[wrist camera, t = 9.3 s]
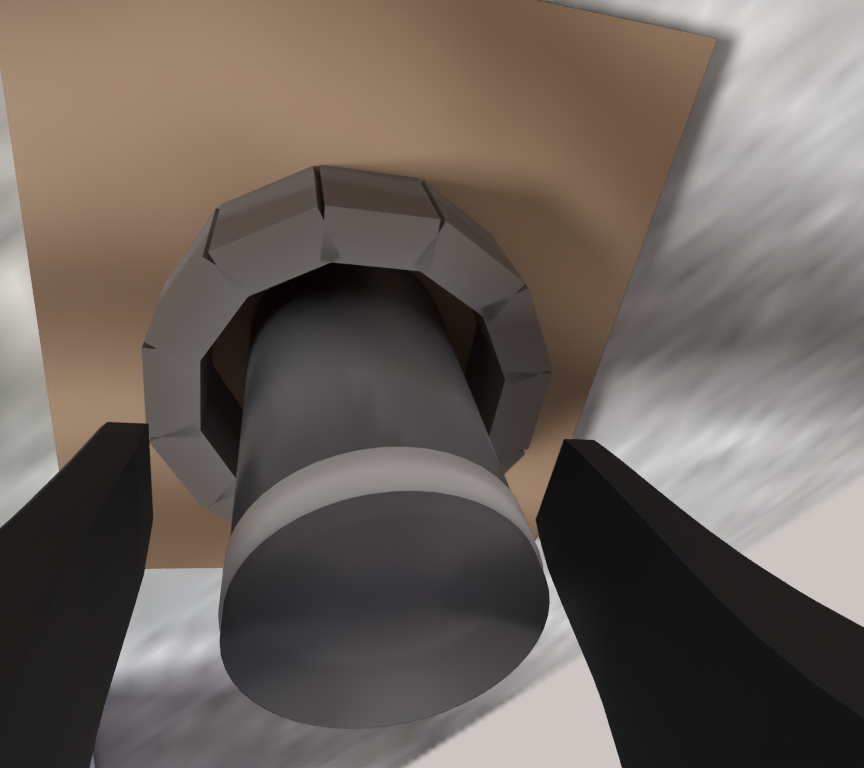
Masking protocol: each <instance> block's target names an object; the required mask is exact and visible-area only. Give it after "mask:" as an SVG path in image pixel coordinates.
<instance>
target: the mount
mask: <svg viewBox="0 0 864 768" xmlns="http://www.w3.org/2000/svg"><path fill="white" fill-rule="evenodd" d="M716 40H717V39H716V38H712V37H707V36H703V35H698V34H694V33H689V32H685V31H680V30H675V29H670V28H666V27H661V26H656V25H652V24H647V23H642V22H637V21H633V20H628V19H623V18H618V17H614V16H609V15H604V14H600V13H595V12H590V11H585V10H581V9H576V8H571V7H567V6H562V5H557V4H552V3H548V2H543V1H538V0H0V68H1V75H2V82H3V89H4V96H5V102H6V109H7V116H8V123H9V130H10V137H11V144H12V151H13V157H14V164H15V171H16V178H17V185H18V192H19V199H20V205H21V212H22V219H23V226H24V233H25V240H26V247H27V253H28V260H29V267H30V274H31V281H32V288H33V295H34V301H35V308H36V315H37V322H38V329H39V336H40V343H41V350H42V356H43V363H44V370H45V377H46V384H47V391H48V398H49V404H50V411H51V418H52V425H53V432H54V439H55V446H56V452H57V459H58V466H59V471H60V470H61V469H62V468H63V467H64V466H65V465H66V464H67V463H68V462H69V461H70V460H71V458H72V457H73V456H74V455H75V454H76V453H77V452H78V451H79V450H80V449H81V448H82V447H83V446H84V444H85V443H86V442H87V441H88V440H89V439H90V438H91V437H92V436H93V435H94V433H95V432H96V431H97V430H98V429H99V428H100V427H101V426H102V425H104V424H105V423H106V422H124V423H149V442H150V461H151V481H152V500H153V524H152V530H151V536H150V542H149V548H148V554H147V559H146V565H145V569H160V568H223V566H224V558H225V552H226V549H227V545H228V542H229V539H230V534H231V524H232V514H233V504H234V495H235V485H236V475H237V465H238V455H239V446H240V436H241V426H242V416H243V406H244V396H245V387H246V377H247V367H248V357H249V347H250V337H251V329H252V322H253V318H254V315H255V311H256V309H257V307H258V305H259V303H260V301H261V299H262V298H263V296H264V294H265V293H266V291H267V290H268V289H269V288H270V287H272V286H275V285H277V284H280V283H282V282H285V281H287V280H289V279H292V278H294V277H297V276H299V275H302V274H304V273H306V272H309V271H311V270H314V269H316V268H319V267H321V266H323V265H326V264H328V263H331V262H334V263H344V264H354V265H364V266H374V267H384V268H394V269H404V270H408V271H409V272H411V273H412V274H413V275H414V276H416V277H417V278H418V279H419V280H420V282H421V283H422V284H423V285H424V286H425V287H426V289H427V290H428V292H429V293H430V294H431V296H432V298H433V300H434V302H435V304H436V306H437V309H438V311H439V314H440V316H441V319H442V321H443V324H444V326H445V329H446V331H447V334H448V336H449V339H450V341H451V344H452V346H453V349H454V351H455V354H456V356H457V359H458V361H459V364H460V366H461V369H462V371H463V373H464V376H465V378H466V381H467V383H468V386H469V388H470V391H471V393H472V396H473V398H474V401H475V403H476V406H477V408H478V411H479V413H480V416H481V418H482V421H483V423H484V426H485V428H486V431H487V433H488V436H489V438H490V441H491V443H492V446H493V448H494V450H495V453H496V455H497V458H498V460H499V463H500V465H501V468H502V470H503V473H504V475H505V478H506V480H507V483H508V485H509V488H510V490H511V492H512V494H513V495H514V496H515V498H516V499H517V501H518V503H519V505H520V507H521V509H522V511H523V513H524V516H525V518H526V521H527V523H528V526H529V528H530V530H531V533H532V535H533V538H534V540H536V537H537V534H538V529H537V525H536V521H535V520H536V517H537V514H538V511H539V508H540V505H541V503H542V500H543V497H544V494H545V491H546V488H547V486H548V483H549V480H550V477H551V474H552V471H553V469H554V466H555V463H556V460H557V457H558V454H559V451H560V449H561V446H562V443H563V440H564V439H572V437H573V435H574V432H575V429H576V426H577V424H578V421H579V418H580V415H581V413H582V410H583V407H584V404H585V402H586V399H587V396H588V393H589V391H590V388H591V385H592V382H593V379H594V377H595V374H596V371H597V368H598V366H599V363H600V360H601V357H602V355H603V352H604V349H605V346H606V344H607V341H608V338H609V335H610V333H611V330H612V327H613V324H614V322H615V319H616V316H617V313H618V310H619V308H620V305H621V302H622V299H623V297H624V294H625V291H626V288H627V286H628V283H629V280H630V277H631V275H632V272H633V269H634V266H635V264H636V261H637V258H638V255H639V252H640V250H641V247H642V244H643V241H644V239H645V236H646V233H647V230H648V228H649V225H650V222H651V219H652V217H653V214H654V211H655V208H656V206H657V203H658V200H659V197H660V194H661V192H662V189H663V186H664V183H665V181H666V178H667V175H668V172H669V170H670V167H671V164H672V161H673V159H674V156H675V153H676V150H677V148H678V145H679V142H680V139H681V137H682V134H683V131H684V128H685V125H686V123H687V120H688V117H689V114H690V112H691V109H692V106H693V103H694V101H695V98H696V95H697V92H698V90H699V87H700V84H701V81H702V79H703V76H704V73H705V70H706V67H707V65H708V62H709V59H710V56H711V54H712V51H713V48H714V45H715V43H716Z"/></svg>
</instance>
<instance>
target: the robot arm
mask: <svg viewBox="0 0 864 768" xmlns="http://www.w3.org/2000/svg"><path fill="white" fill-rule="evenodd" d="M535 521H536V525H537V529H538V533H539V537H540V541H541V545H542V549H543V553H544V556H545V560H546V563H547V567H548V570H549V573H550V575H551V578H552V580H553V583H554V585H555V588H556V590H557V593H558V595H559V597H560V600H561V602H562V605H563V607H564V610H565V612H566V614H567V617H568V619H569V621H570V624H571V626H572V629H573V631H574V633H575V636H576V638H577V641H578V643H579V645H580V648H581V650H582V652H583V655H584V657H585V660H586V662H587V664H588V666H589V669H590V671H591V674H592V676H593V678H594V681H595V684H596V687H597V689H598V692H599V695H600V698H601V700H602V703H603V706H604V709H605V713H606V716H607V719H608V723H609V726H610V729H611V733H612V736H613V739H614V742H615V745H616V749H617V752H618V755H619V759H620V763H621V766H622V768H864V627H862V626H860V625H858V624H856V623H855V622H853V621H851V620H849V619H847V618H845V617H844V616H842V615H840V614H838V613H836V612H835V611H833V610H831V609H829V608H828V607H826V606H824V605H822V604H820V603H818V602H816V601H815V600H813V599H812V598H810V597H808V596H807V595H805V594H803V593H801V592H800V591H798V590H796V589H795V588H793V587H791V586H790V585H788V584H787V583H785V582H784V581H782V580H781V579H779V578H777V577H776V576H774V575H773V574H771V573H769V572H768V571H766V570H765V569H763V568H762V567H760V566H758V565H757V564H755V563H754V562H752V561H751V560H749V559H748V558H747V557H745V556H744V555H742V554H741V553H739V552H738V551H737V550H735V549H734V548H732V547H731V546H730V545H728V544H727V543H726V542H724V541H723V540H721V539H720V538H719V537H717V536H716V535H715V534H713V533H712V532H710V531H709V530H708V529H706V528H705V527H704V526H702V525H701V524H700V523H699V522H697V521H696V520H695V519H693V518H692V517H691V516H689V515H688V514H687V513H686V512H684V511H683V510H682V509H680V508H679V507H678V506H677V505H675V504H674V503H673V502H672V501H670V500H669V499H668V498H667V497H665V496H664V495H663V494H662V493H661V492H659V491H658V490H657V489H656V488H654V487H653V486H652V485H651V484H649V483H648V482H647V481H646V480H645V479H643V478H642V477H641V476H640V475H638V474H637V473H636V472H635V471H634V470H632V469H631V468H630V467H629V466H627V465H626V464H625V463H624V462H622V461H621V460H620V459H619V458H617V457H616V456H615V455H614V454H612V453H611V452H610V451H608V450H607V449H606V448H604V447H603V446H602V445H600V444H599V443H597V442H596V441H594V440H580V439H564V440H563V443H562V446H561V449H560V451H559V454H558V457H557V460H556V463H555V466H554V469H553V471H552V474H551V477H550V480H549V483H548V486H547V488H546V491H545V494H544V497H543V500H542V503H541V505H540V508H539V511H538V514H537V517H536V520H535ZM152 524H153V500H152V481H151V461H150V442H149V423H124V422H106V423H105V424H104V425H102V426H101V427H100V428H99V429H98V430H97V431H96V432H95V433H94V435H93V436H92V437H91V438H90V439H89V440H88V441H87V442H86V443H85V444H84V446H83V447H82V448H81V449H80V450H79V451H78V452H77V453H76V454H75V455H74V456H73V457H72V458H71V460H70V461H69V462H68V463H67V464H66V465H65V466H64V467H63V468H62V469H61V470H60V471H59V472H58V473H57V474H56V475H55V476H54V477H53V478H52V479H51V480H50V481H49V482H48V483H47V484H46V485H45V486H44V487H43V488H42V489H41V490H40V491H39V492H38V493H37V494H36V495H35V496H34V497H33V498H32V499H31V500H30V501H29V502H28V503H27V504H26V505H25V506H24V507H23V508H22V509H21V510H19V511H18V512H17V513H16V514H15V515H14V516H13V517H12V518H11V519H10V520H9V521H7V522H6V523H5V524H4V525H3V526H2V527H1V528H0V768H95V764H94V757H93V749H94V744H95V740H96V735H97V731H98V728H99V724H100V720H101V716H102V712H103V708H104V705H105V701H106V698H107V695H108V692H109V688H110V685H111V682H112V678H113V675H114V672H115V669H116V665H117V662H118V659H119V655H120V652H121V649H122V646H123V642H124V639H125V636H126V633H127V629H128V626H129V623H130V619H131V616H132V613H133V609H134V606H135V603H136V599H137V596H138V593H139V589H140V586H141V582H142V579H143V576H144V570H145V565H146V559H147V554H148V548H149V542H150V536H151V530H152Z"/></svg>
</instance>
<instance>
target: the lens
mask: <svg viewBox="0 0 864 768" xmlns="http://www.w3.org/2000/svg"><path fill="white" fill-rule="evenodd" d="M549 603H550V601H549V588H548V585H547V581H546V578H545V575H544V572H543V563H542V560H541V556H540V553H539V550H538V548H537V545H536V543H535V540H534V538H533V535H532V533H531V530H530V528H529V526H528V523H527V521H526V518H525V516H524V513H523V511H522V509H521V507H520V505H519V503H518V501H517V499H516V498H515V496H514V495H513V494H512V492H511V490H510V488H509V485H508V483H507V480H506V478H505V475H504V473H503V470H502V468H501V465H500V463H499V460H498V458H497V455H496V453H495V450H494V448H493V446H492V443H491V441H490V438H489V436H488V433H487V431H486V428H485V426H484V423H483V421H482V418H481V416H480V413H479V411H478V408H477V406H476V403H475V401H474V398H473V396H472V393H471V391H470V388H469V386H468V383H467V381H466V378H465V376H464V373H463V371H462V369H461V366H460V364H459V361H458V359H457V356H456V354H455V351H454V349H453V346H452V344H451V341H450V339H449V336H448V334H447V331H446V329H445V326H444V324H443V321H442V319H441V316H440V314H439V311H438V309H437V306H436V304H435V302H434V300H433V298H432V296H431V294H430V293H429V292H428V290H427V289H426V287H425V286H424V285H423V284H422V283H421V282H420V280H419V279H418V278H417V277H416V276H414V275H413V274H412V273H411V272H409V271H408V270H404V269H394V268H384V267H374V266H364V265H354V264H344V263H334V262H331V263H328V264H326V265H323V266H321V267H319V268H316V269H314V270H311V271H309V272H306V273H304V274H302V275H299V276H297V277H294V278H292V279H289V280H287V281H285V282H282V283H280V284H277V285H275V286H272V287H270V288H269V289H268V290H267V291H266V293H265V294H264V296H263V298H262V299H261V301H260V303H259V305H258V307H257V309H256V311H255V315H254V318H253V322H252V329H251V337H250V347H249V357H248V367H247V377H246V387H245V396H244V406H243V416H242V426H241V436H240V446H239V455H238V465H237V475H236V485H235V495H234V504H233V514H232V524H231V534H230V539H229V542H228V545H227V549H226V552H225V558H224V566H223V576H222V585H221V594H220V603H219V613H218V617H219V629H220V651H221V657H222V660H223V664H224V667H225V669H226V671H227V673H228V675H229V676H230V678H231V680H232V681H233V683H234V684H235V685H236V686H237V687H238V688H239V690H240V691H241V692H242V693H243V694H245V695H246V696H247V697H248V698H249V699H250V700H252V701H253V702H254V703H256V704H258V705H259V706H261V707H263V708H264V709H266V710H268V711H270V712H272V713H274V714H277V715H279V716H281V717H284V718H287V719H290V720H293V721H296V722H300V723H305V724H310V725H314V726H322V727H330V728H347V729H357V728H375V727H385V726H392V725H397V724H403V723H408V722H412V721H416V720H420V719H424V718H427V717H430V716H433V715H436V714H439V713H442V712H445V711H448V710H450V709H452V708H455V707H457V706H460V705H462V704H464V703H466V702H468V701H470V700H472V699H474V698H476V697H477V696H479V695H481V694H482V693H484V692H486V691H487V690H489V689H490V688H492V687H493V686H495V685H496V684H497V683H499V682H500V681H502V680H503V679H504V678H506V677H507V676H508V675H509V674H510V673H511V672H512V671H513V670H514V669H516V668H517V667H518V666H519V665H520V663H521V662H522V661H523V660H524V659H525V658H526V657H527V656H528V655H529V653H530V652H531V650H532V649H533V647H534V646H535V644H536V643H537V641H538V639H539V637H540V635H541V633H542V631H543V629H544V626H545V623H546V620H547V617H548V611H549Z"/></svg>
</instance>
